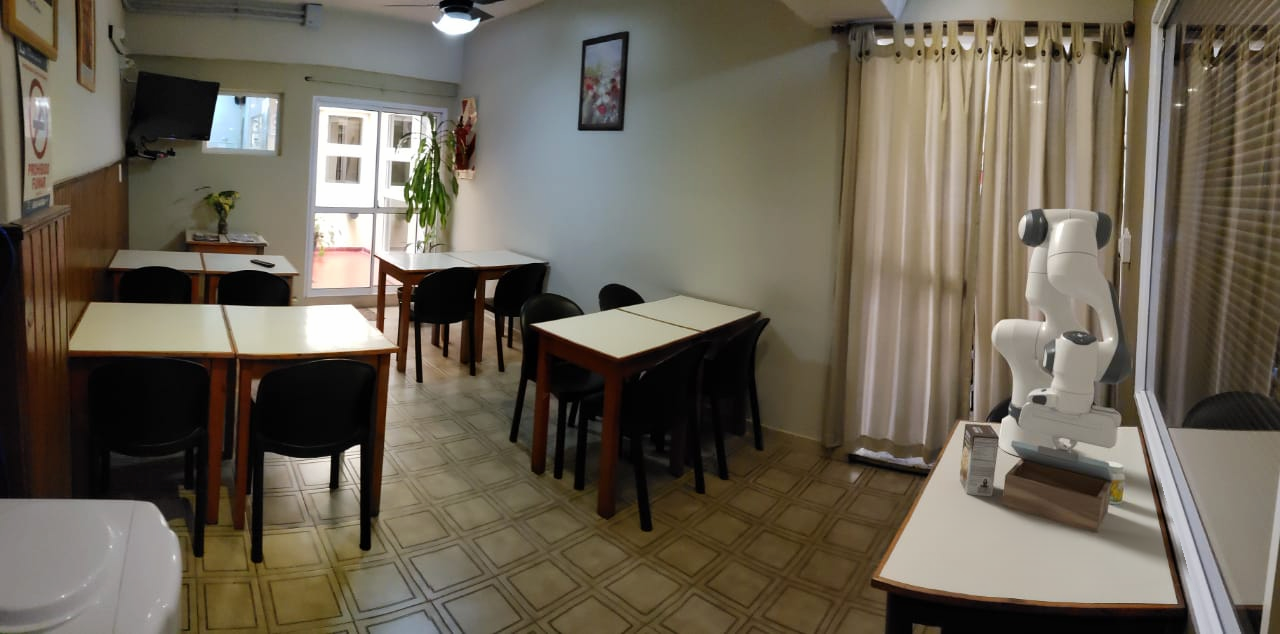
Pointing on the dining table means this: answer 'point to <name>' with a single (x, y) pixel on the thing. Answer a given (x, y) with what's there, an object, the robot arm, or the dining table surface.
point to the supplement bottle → (1116, 483)
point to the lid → (1063, 460)
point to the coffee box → (978, 459)
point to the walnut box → (1057, 494)
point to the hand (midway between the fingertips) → (1062, 455)
